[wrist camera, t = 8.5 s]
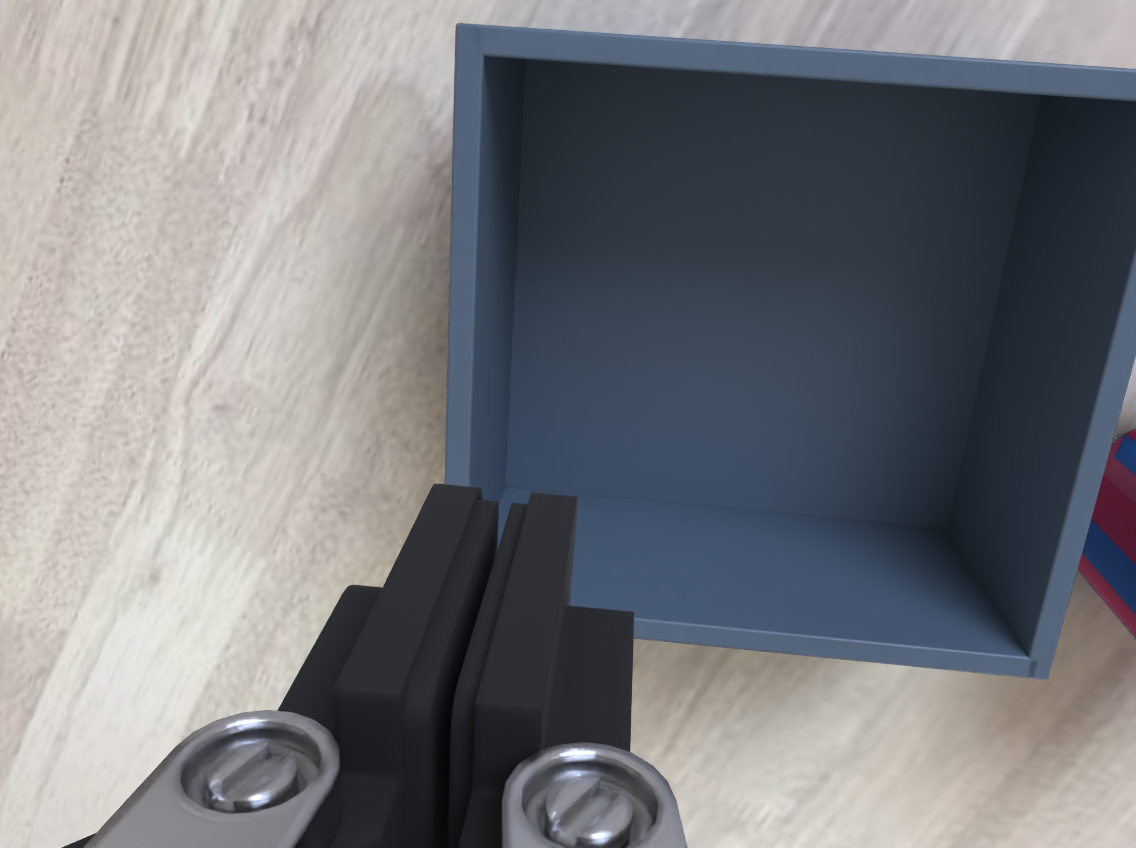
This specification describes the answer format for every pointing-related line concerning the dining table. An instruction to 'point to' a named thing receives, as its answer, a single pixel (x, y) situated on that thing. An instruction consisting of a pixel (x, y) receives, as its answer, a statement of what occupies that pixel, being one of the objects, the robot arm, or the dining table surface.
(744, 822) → the dining table surface
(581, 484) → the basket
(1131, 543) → the cup
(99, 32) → the dining table surface
